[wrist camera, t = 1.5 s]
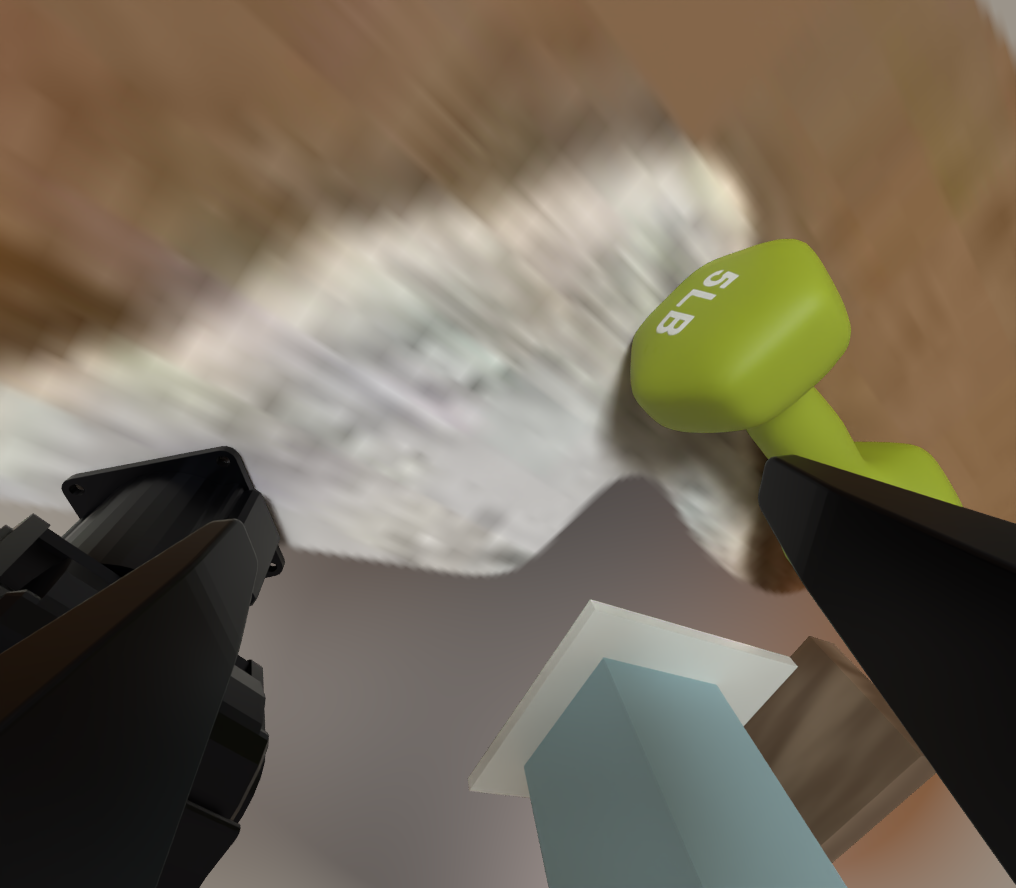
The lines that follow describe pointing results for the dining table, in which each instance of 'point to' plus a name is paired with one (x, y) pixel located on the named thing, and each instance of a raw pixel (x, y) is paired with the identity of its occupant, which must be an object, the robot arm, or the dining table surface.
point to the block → (664, 793)
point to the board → (836, 747)
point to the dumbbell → (764, 364)
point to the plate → (635, 641)
